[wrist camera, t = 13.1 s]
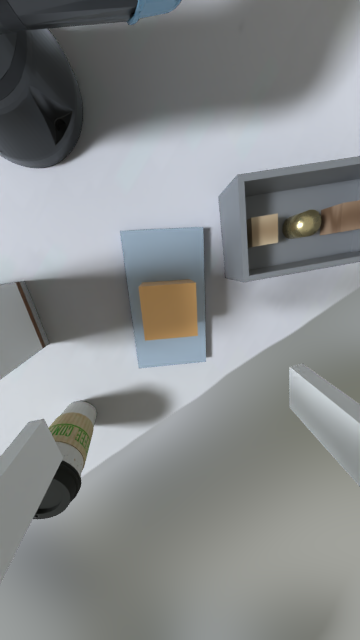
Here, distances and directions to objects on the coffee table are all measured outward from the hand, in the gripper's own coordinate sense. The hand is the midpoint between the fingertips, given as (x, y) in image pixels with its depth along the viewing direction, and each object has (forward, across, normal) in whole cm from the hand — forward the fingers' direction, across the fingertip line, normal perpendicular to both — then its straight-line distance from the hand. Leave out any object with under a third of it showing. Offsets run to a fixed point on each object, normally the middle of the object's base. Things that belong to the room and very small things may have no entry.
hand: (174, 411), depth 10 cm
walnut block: (+25, -31, -9) cm, 41 cm away
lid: (+26, -1, -1) cm, 26 cm away
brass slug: (+25, -24, -9) cm, 36 cm away
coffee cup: (+26, +22, +19) cm, 39 cm away
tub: (+26, -24, -9) cm, 37 cm away
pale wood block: (+25, -17, -9) cm, 32 cm away
